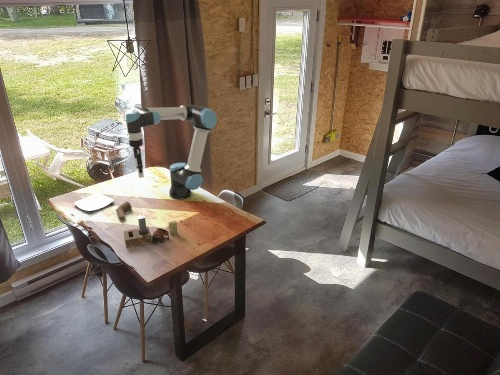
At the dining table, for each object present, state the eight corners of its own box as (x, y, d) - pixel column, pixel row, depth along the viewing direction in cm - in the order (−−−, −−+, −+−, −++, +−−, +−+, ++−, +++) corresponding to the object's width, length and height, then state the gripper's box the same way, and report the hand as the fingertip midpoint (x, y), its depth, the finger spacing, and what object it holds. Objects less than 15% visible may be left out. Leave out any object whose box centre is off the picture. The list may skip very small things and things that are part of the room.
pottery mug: (149, 239, 223) (154, 226, 223) (164, 243, 227) (169, 230, 226) (152, 245, 212) (157, 231, 212) (168, 249, 216) (173, 236, 215)
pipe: (116, 215, 236) (132, 210, 239) (113, 203, 250) (128, 198, 253) (119, 224, 240) (135, 218, 243) (116, 211, 253) (131, 206, 256)
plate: (89, 215, 246) (88, 212, 244) (72, 206, 256) (71, 202, 255) (116, 203, 260) (116, 200, 259) (99, 195, 271) (98, 191, 270)
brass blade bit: (177, 232, 229) (176, 220, 226) (177, 233, 228) (176, 222, 224) (169, 233, 228) (168, 221, 224) (170, 235, 226) (169, 223, 223)
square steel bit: (146, 235, 224) (144, 214, 217) (147, 238, 221) (145, 217, 214) (140, 236, 222) (137, 215, 216) (141, 240, 219) (138, 219, 213)
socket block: (149, 233, 227) (148, 226, 225) (152, 242, 219) (151, 235, 217) (124, 238, 222) (123, 231, 220) (126, 247, 214) (125, 240, 212)
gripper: (126, 132, 228) (130, 165, 237) (131, 146, 207) (136, 182, 217) (139, 131, 230) (143, 164, 240) (145, 145, 210) (149, 180, 219)
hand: (139, 172), depth 228 cm, fingers open, 13 cm apart
